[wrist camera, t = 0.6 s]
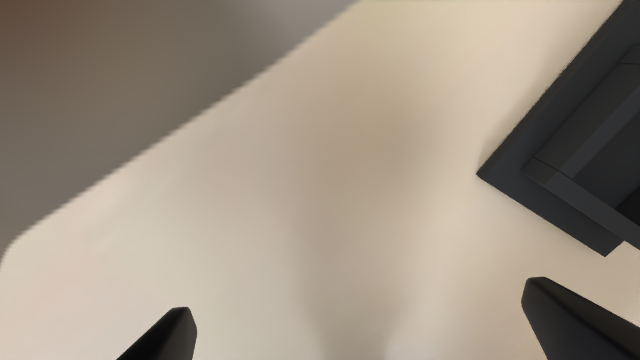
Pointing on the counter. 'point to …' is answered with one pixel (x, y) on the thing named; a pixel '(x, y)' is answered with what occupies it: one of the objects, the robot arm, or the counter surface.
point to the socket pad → (583, 142)
